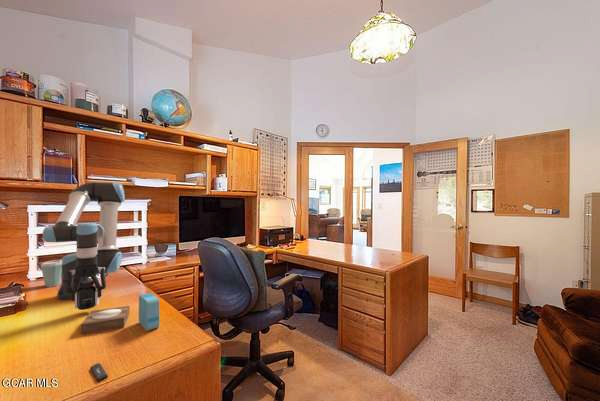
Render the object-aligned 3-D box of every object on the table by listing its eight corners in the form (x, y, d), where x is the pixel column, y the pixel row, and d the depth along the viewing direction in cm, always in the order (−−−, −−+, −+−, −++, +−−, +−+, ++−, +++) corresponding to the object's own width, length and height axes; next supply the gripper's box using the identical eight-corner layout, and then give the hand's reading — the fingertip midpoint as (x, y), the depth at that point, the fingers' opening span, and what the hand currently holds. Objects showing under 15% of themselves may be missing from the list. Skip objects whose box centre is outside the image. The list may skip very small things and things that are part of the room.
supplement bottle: (85, 310, 117) (85, 284, 117) (73, 309, 119) (73, 283, 119) (100, 304, 124) (99, 279, 124) (88, 303, 126) (88, 278, 125)
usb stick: (89, 370, 80) (89, 365, 80) (100, 366, 82) (100, 361, 82) (97, 384, 74) (97, 379, 74) (108, 379, 76) (108, 374, 76)
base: (91, 320, 114) (91, 310, 114) (129, 314, 120) (129, 305, 120) (80, 335, 101) (80, 323, 101) (123, 327, 107) (123, 317, 107)
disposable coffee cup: (52, 288, 157) (52, 263, 157) (34, 288, 157) (34, 263, 157) (68, 283, 167) (68, 259, 168) (51, 282, 168) (51, 259, 168)
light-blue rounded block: (159, 328, 106) (159, 298, 106) (146, 332, 103) (147, 301, 103) (150, 319, 115) (150, 291, 115) (138, 322, 112) (138, 294, 112)
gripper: (56, 260, 114) (56, 312, 114) (111, 256, 122) (111, 305, 122) (62, 256, 120) (62, 306, 121) (114, 253, 129) (114, 299, 129)
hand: (87, 305), depth 122 cm, fingers closed on supplement bottle, 7 cm apart
